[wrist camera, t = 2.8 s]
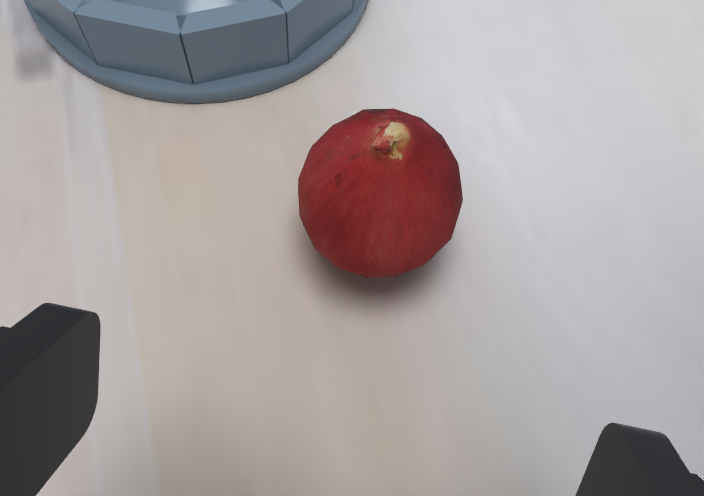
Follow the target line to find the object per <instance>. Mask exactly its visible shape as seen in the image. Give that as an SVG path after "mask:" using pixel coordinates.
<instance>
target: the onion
mask: <svg viewBox="0 0 704 496" xmlns="http://www.w3.org/2000/svg"><path fill="white" fill-rule="evenodd" d="M298 195H299V213H300V218H301V220H302V223H303V225H304V227H305V229H306V231H307V233H308V235H309V237H310V239H311V241H312V243H313V245H314V247H315V249H316V250H317V251H319V252H320V253H321V254H322V255H323V256H324V257H325V258H327V259H328V260H329V261H330V262H331V263H332V264H334V265H335V266H336V267H337V268H340V269H343V270H346V271H349V272H352V273H355V274H358V275H361V276H364V277H386V276H398V275H400V274H403V273H406V272H408V271H411V270H413V269H416V268H418V267H421V266H423V265H424V264H425V263H426V262H428V261H429V260H430V259H431V258H432V257H433V256H434V255H435V254H436V253H437V252H438V251H439V250H440V249H441V248H442V247H443V246H444V245H445V244H446V243H447V242H448V241H449V240H450V239H451V238H452V234H453V231H454V228H455V225H456V222H457V218H458V215H459V212H460V208H461V205H462V201H463V198H462V189H461V181H460V173H459V166H458V162H457V160H456V159H455V157H454V155H453V153H452V152H451V150H450V148H449V146H448V144H447V143H446V141H445V139H444V138H443V137H442V135H441V134H439V133H438V132H437V131H436V130H435V129H434V128H432V127H431V126H430V125H429V124H428V123H427V122H426V121H424V120H423V119H422V118H419V117H416V116H414V115H411V114H408V113H405V112H402V111H399V110H396V109H366V110H362V111H360V112H358V113H356V114H355V115H353V116H351V117H349V118H347V119H345V120H343V121H341V122H339V123H337V124H335V125H333V126H331V127H330V128H329V129H328V130H327V131H326V132H325V133H324V134H323V135H322V136H321V137H320V138H319V139H318V141H317V142H316V143H315V144H314V145H313V146H312V147H311V149H310V151H309V153H308V156H307V158H306V161H305V163H304V166H303V168H302V171H301V173H300V176H299V179H298Z"/></svg>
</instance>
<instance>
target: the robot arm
mask: <svg viewBox="0 0 704 496" xmlns="http://www.w3.org/2000/svg"><path fill="white" fill-rule="evenodd" d="M99 352H100V320H99V317H98V315H97V314H96V313H94V312H90V311H86V310H81V309H76V308H71V307H66V306H62V305H57V304H52V303H44V304H42V305H40V306H39V307H38V308H36V309H35V310H34V311H32V312H31V313H30V314H28V315H27V316H26V317H24V318H23V319H22V320H20V321H19V322H18V323H17V324H15V325H14V326H13V327H11V328H8V327H3V326H2V327H0V496H36V495H37V493H38V492H39V491H40V490H41V488H42V487H43V486H44V485H45V483H46V482H47V481H48V480H49V478H50V477H51V476H52V475H53V473H54V472H55V471H56V470H57V468H58V467H59V466H60V464H61V463H62V462H63V461H64V459H65V458H66V457H67V456H68V454H69V453H70V452H71V451H72V449H73V448H74V447H75V446H76V444H77V443H78V442H79V441H80V439H81V438H82V437H83V435H84V434H85V432H86V431H87V429H88V427H89V425H90V423H91V420H92V418H93V415H94V412H95V408H96V404H97V398H98V378H99ZM576 496H704V481H703V480H702V479H701V478H700V477H699V476H698V475H697V474H692V473H690V472H689V471H688V469H687V468H686V466H685V464H684V463H683V461H682V460H681V458H680V456H679V455H678V453H677V452H676V450H675V448H674V447H673V445H672V444H671V442H670V440H669V439H668V438H667V436H665V435H664V434H663V433H660V432H655V431H650V430H646V429H641V428H636V427H631V426H627V425H622V424H617V423H609V424H608V425H606V427H605V428H604V429H603V431H602V432H601V435H600V437H599V439H598V442H597V444H596V447H595V449H594V452H593V454H592V456H591V459H590V461H589V464H588V466H587V469H586V471H585V474H584V476H583V479H582V481H581V484H580V486H579V489H578V491H577V493H576Z"/></svg>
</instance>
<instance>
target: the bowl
mask: <svg viewBox="0 0 704 496" xmlns="http://www.w3.org/2000/svg"><path fill="white" fill-rule="evenodd" d="M24 2H25V4H26V6H27V8H28V10H29V12H30V14H31V16H32V18H33V19H34V21H35V23H36V25H37V27H38V28H39V30H40V32H41V33H42V35H43V36H44V37H45V39H46V40H47V42H48V43H49V44H50V46H51V47H52V48H53V49H54V50H55V51H56V52H57V53H58V54H59V55H60V56H61V57H62V58H63V59H64V60H65V61H66V62H68V63H69V64H70V65H72V66H73V67H74V68H76V69H77V70H78V71H80V72H81V73H83V74H84V75H86V76H88V77H90V78H92V79H94V80H95V81H97V82H99V83H101V84H103V85H105V86H108V87H111V88H113V89H116V90H118V91H121V92H123V93H127V94H131V95H134V96H138V97H142V98H146V99H151V100H158V101H165V102H172V103H196V104H198V103H213V102H225V101H231V100H236V99H242V98H248V97H251V96H255V95H258V94H262V93H265V92H269V91H272V90H274V89H276V88H279V87H281V86H284V85H286V84H289V83H291V82H293V81H295V80H297V79H298V78H300V77H302V76H304V75H306V74H308V73H309V72H311V71H313V70H314V69H315V68H317V67H318V66H319V65H321V64H322V63H324V62H325V61H326V60H328V59H329V58H330V57H331V56H332V55H333V54H334V53H335V52H336V51H337V50H338V49H339V48H340V47H341V46H342V45H343V44H344V43H345V42H346V41H347V39H348V38H349V37H350V35H351V34H352V33H353V31H354V30H355V28H356V27H357V25H358V23H359V21H360V19H361V18H362V16H363V14H364V11H365V8H366V5H367V2H368V0H24Z"/></svg>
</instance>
